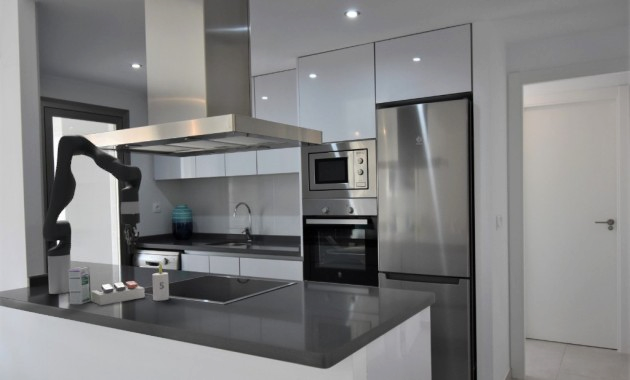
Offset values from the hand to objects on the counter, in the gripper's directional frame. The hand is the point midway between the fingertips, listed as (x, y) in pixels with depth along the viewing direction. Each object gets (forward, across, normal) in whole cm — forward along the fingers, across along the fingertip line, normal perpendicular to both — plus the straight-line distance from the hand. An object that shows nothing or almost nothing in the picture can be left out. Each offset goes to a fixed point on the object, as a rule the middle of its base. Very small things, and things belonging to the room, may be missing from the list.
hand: (131, 253), depth 202 cm
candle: (+19, +11, +8) cm, 24 cm away
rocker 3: (+14, -1, 0) cm, 14 cm away
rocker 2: (+14, -1, -5) cm, 15 cm away
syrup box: (+20, -9, -18) cm, 28 cm away
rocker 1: (+14, -1, -10) cm, 17 cm away
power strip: (+19, -4, -2) cm, 20 cm away
